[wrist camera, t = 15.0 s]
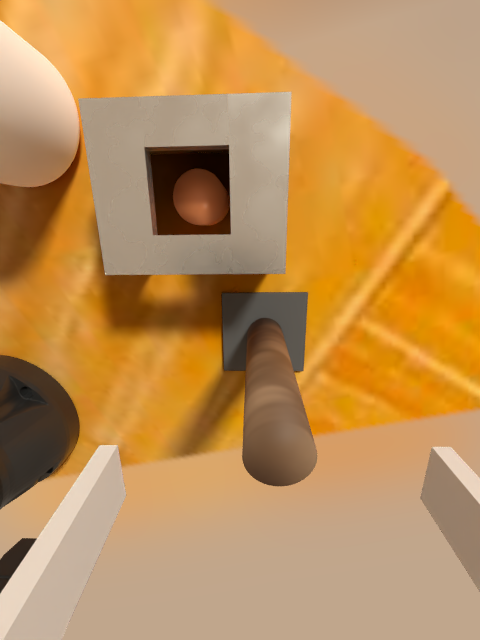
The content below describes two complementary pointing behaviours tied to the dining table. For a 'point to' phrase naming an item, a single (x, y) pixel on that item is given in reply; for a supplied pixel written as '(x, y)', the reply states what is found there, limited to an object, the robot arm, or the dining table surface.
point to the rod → (274, 411)
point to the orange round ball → (200, 197)
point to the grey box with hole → (186, 138)
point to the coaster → (253, 306)
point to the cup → (33, 116)
